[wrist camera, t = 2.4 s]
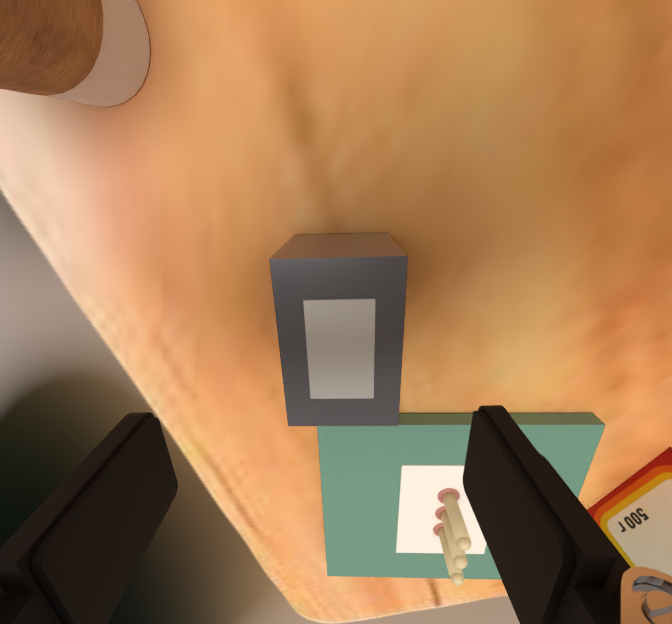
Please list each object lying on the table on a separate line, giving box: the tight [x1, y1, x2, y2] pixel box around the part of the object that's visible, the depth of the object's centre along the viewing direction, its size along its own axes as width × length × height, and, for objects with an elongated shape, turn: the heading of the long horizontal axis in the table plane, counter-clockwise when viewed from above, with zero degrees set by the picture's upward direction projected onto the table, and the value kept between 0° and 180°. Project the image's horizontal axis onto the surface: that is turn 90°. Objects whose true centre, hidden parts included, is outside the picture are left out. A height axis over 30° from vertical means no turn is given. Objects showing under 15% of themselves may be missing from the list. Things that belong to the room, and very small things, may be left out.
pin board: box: [317, 413, 605, 586], centre depth 24 cm, size 20×18×5 cm
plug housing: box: [269, 232, 408, 426], centre depth 17 cm, size 6×8×7 cm, turn 2°
